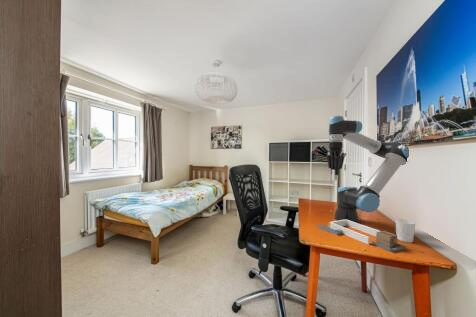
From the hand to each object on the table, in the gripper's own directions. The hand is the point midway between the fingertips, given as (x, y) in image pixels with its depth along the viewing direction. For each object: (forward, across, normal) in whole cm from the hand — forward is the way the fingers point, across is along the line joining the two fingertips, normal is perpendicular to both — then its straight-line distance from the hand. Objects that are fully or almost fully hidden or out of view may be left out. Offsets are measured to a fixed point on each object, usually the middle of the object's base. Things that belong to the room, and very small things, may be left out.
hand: (334, 180), depth 117 cm
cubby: (+29, +11, +5) cm, 32 cm away
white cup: (+30, +26, +22) cm, 45 cm away
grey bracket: (+29, +28, +5) cm, 41 cm away
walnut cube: (+30, +27, +5) cm, 40 cm away
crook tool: (+29, +3, -6) cm, 30 cm away
